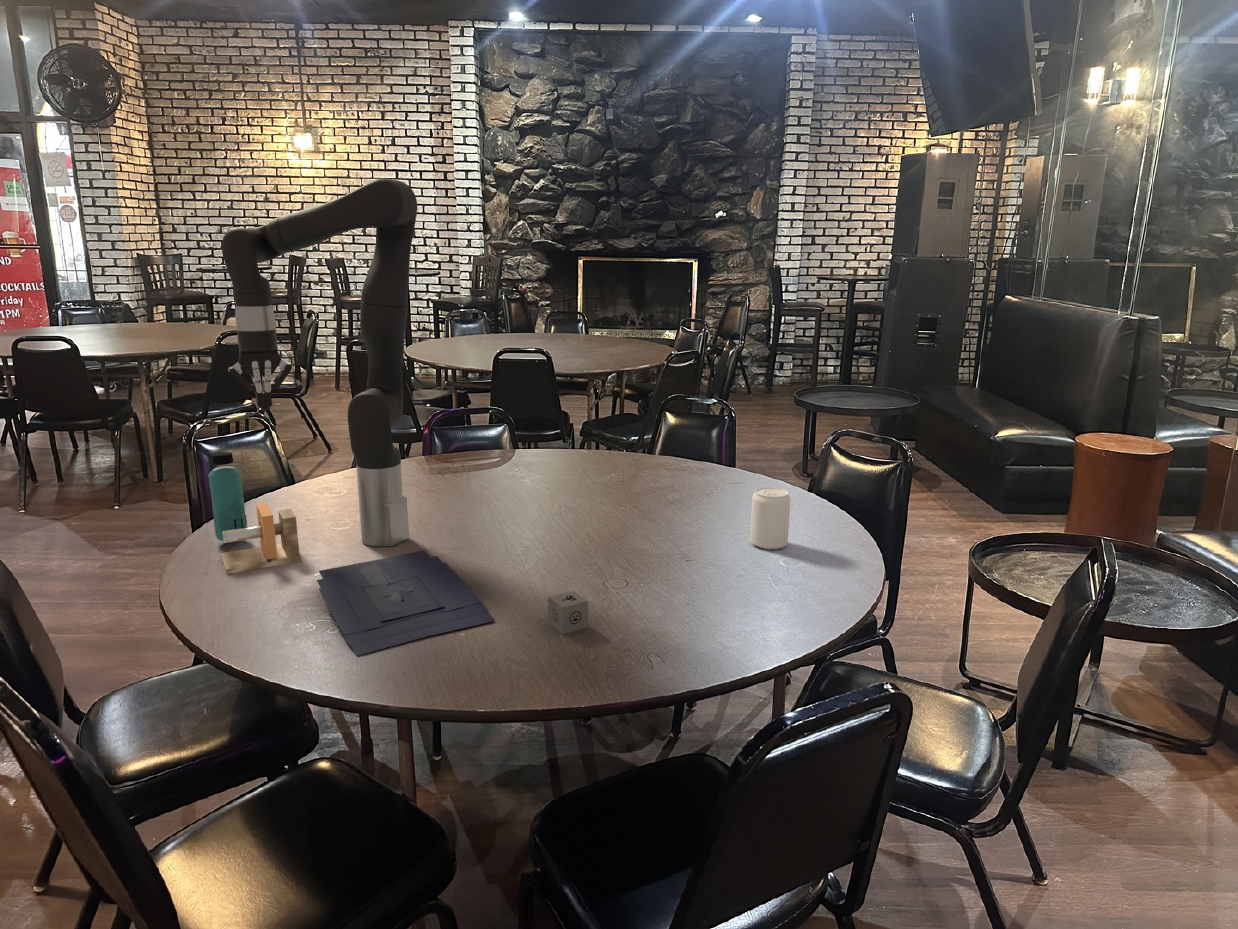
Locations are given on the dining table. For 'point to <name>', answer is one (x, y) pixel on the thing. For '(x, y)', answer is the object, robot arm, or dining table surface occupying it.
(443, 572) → the dark blue flat slab
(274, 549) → the collar
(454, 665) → the dining table surface
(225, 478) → the beverage bottle
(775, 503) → the beverage can
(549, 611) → the dice cube
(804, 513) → the dining table surface
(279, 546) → the pipe stand
